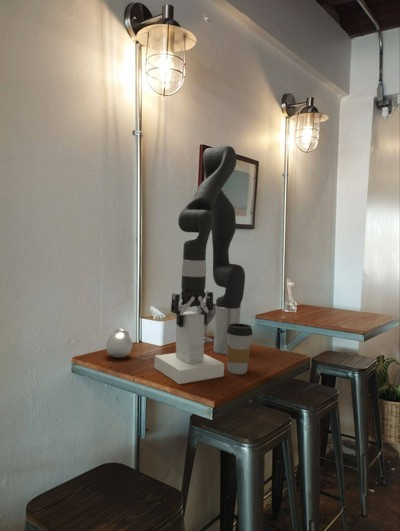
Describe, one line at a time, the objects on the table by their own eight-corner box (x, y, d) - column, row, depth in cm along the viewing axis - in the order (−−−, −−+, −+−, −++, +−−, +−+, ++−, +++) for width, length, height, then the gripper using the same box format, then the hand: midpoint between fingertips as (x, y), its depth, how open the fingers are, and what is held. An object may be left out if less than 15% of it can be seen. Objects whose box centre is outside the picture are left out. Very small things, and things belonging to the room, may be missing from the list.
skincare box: (203, 362, 132) (206, 315, 131) (187, 364, 129) (190, 316, 128) (189, 354, 139) (191, 310, 138) (173, 357, 136) (175, 311, 134)
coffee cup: (224, 366, 142) (226, 322, 140) (249, 367, 141) (251, 323, 140) (224, 374, 133) (227, 328, 132) (251, 376, 133) (254, 329, 132)
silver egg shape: (137, 356, 148) (139, 328, 147) (120, 363, 139) (121, 333, 138) (117, 351, 152) (118, 324, 151) (99, 357, 144) (100, 329, 143)
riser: (196, 361, 145) (196, 350, 145) (223, 376, 132) (224, 363, 131) (154, 367, 136) (154, 355, 136) (179, 384, 123) (179, 370, 123)
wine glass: (191, 339, 174) (193, 303, 173) (203, 336, 180) (205, 301, 179) (206, 343, 169) (208, 306, 168) (218, 340, 175) (220, 304, 174)
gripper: (205, 272, 138) (203, 320, 140) (167, 273, 130) (166, 325, 132) (219, 274, 132) (217, 325, 134) (180, 276, 124) (178, 330, 126)
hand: (191, 325), depth 133 cm, fingers open, 8 cm apart
